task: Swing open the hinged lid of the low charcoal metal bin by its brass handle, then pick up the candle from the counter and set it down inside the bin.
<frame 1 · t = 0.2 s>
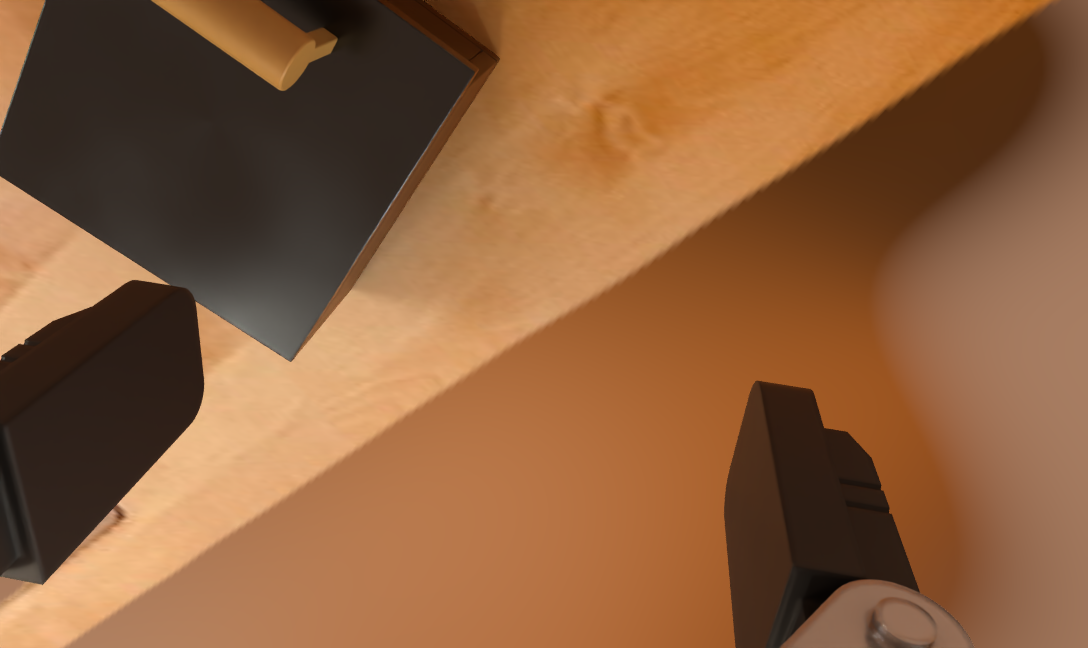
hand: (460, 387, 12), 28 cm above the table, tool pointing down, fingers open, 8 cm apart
bread bin: (289, 93, 39), on the table
bin lid: (188, 136, 30), point 10 cm above the table, hinge at 0.0°
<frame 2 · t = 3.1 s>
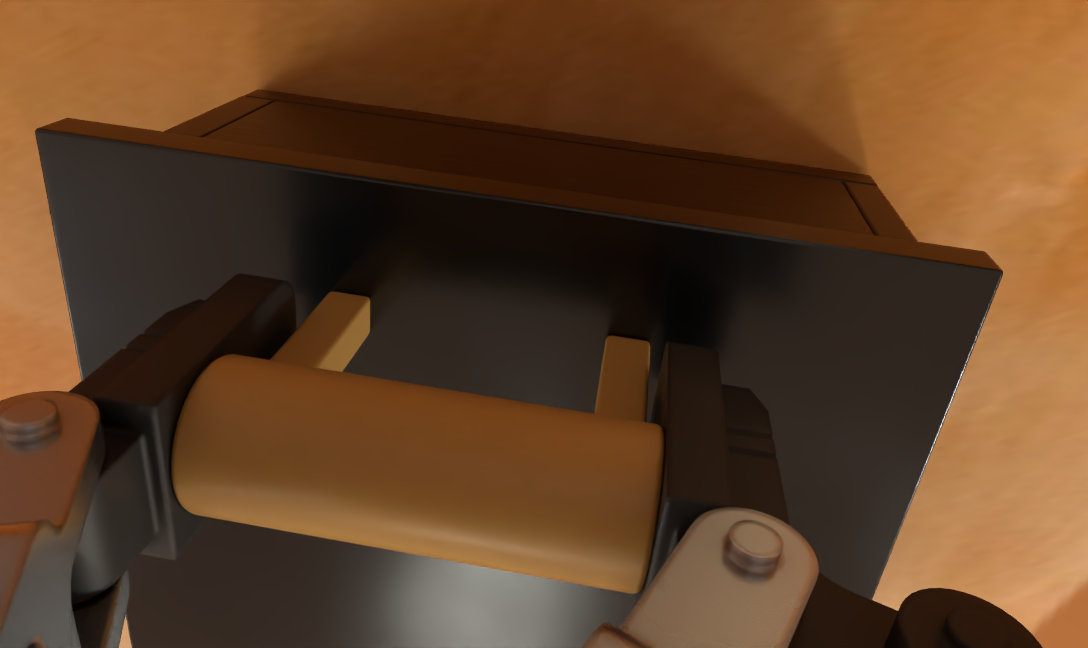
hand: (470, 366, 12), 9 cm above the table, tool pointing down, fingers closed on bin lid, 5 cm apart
bread bin: (526, 391, 23), on the table
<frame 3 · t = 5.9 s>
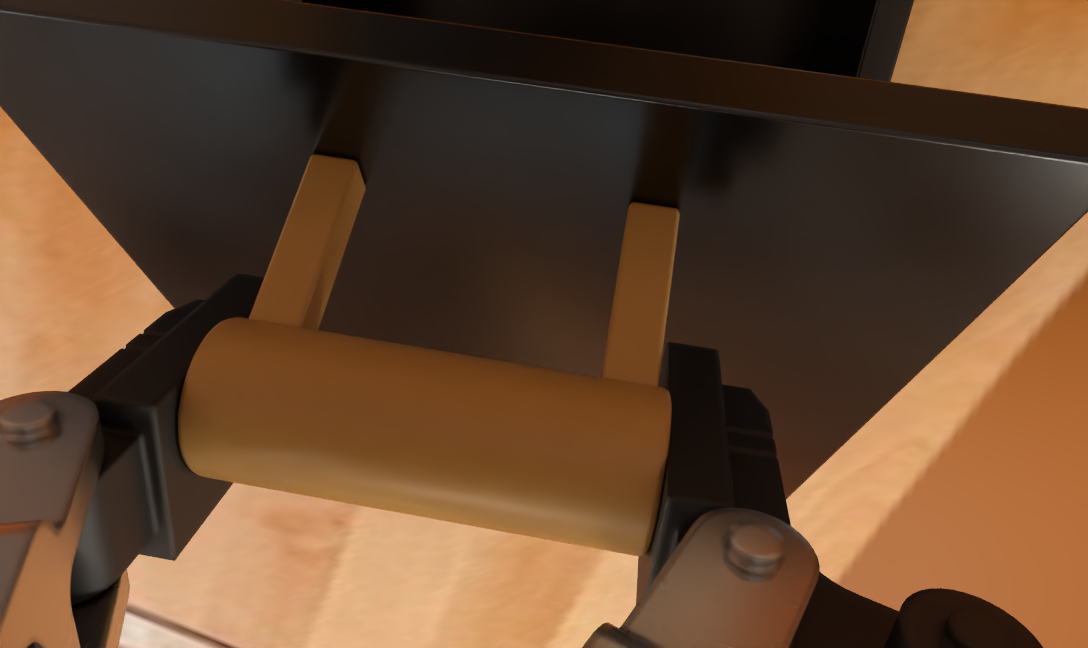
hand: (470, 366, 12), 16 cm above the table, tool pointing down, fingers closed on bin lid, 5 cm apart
bread bin: (578, 144, 27), on the table
bin lid: (488, 442, 16), point 14 cm above the table, hinge at 37.9°, touching gripper
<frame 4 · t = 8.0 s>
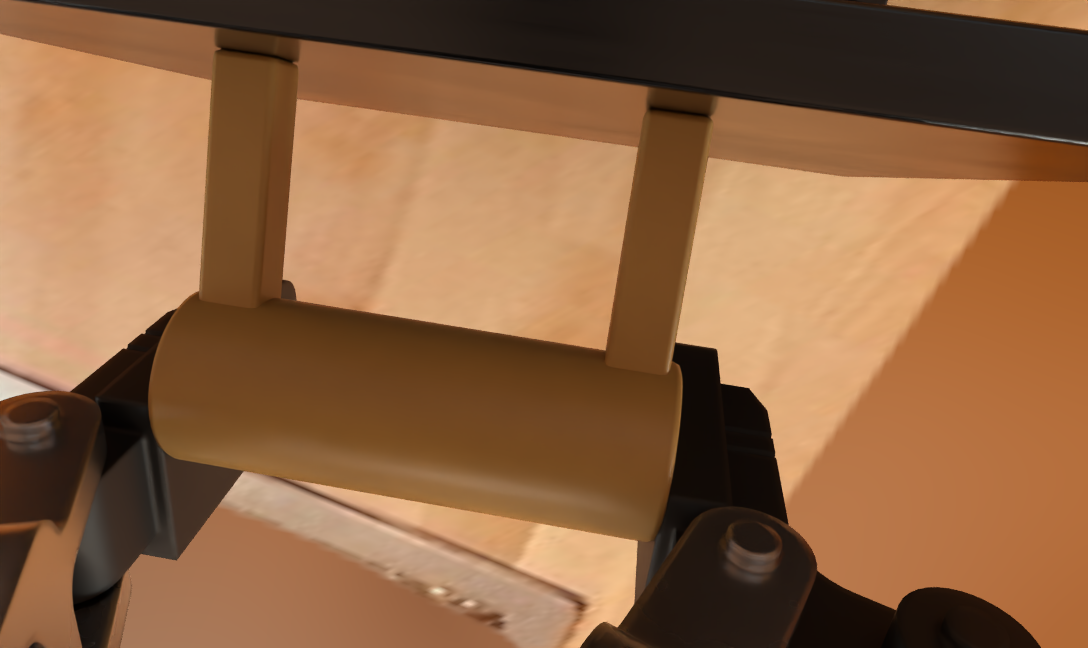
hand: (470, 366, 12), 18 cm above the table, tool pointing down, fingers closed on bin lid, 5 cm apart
bin lid: (512, 229, 14), point 15 cm above the table, hinge at 74.3°, touching gripper
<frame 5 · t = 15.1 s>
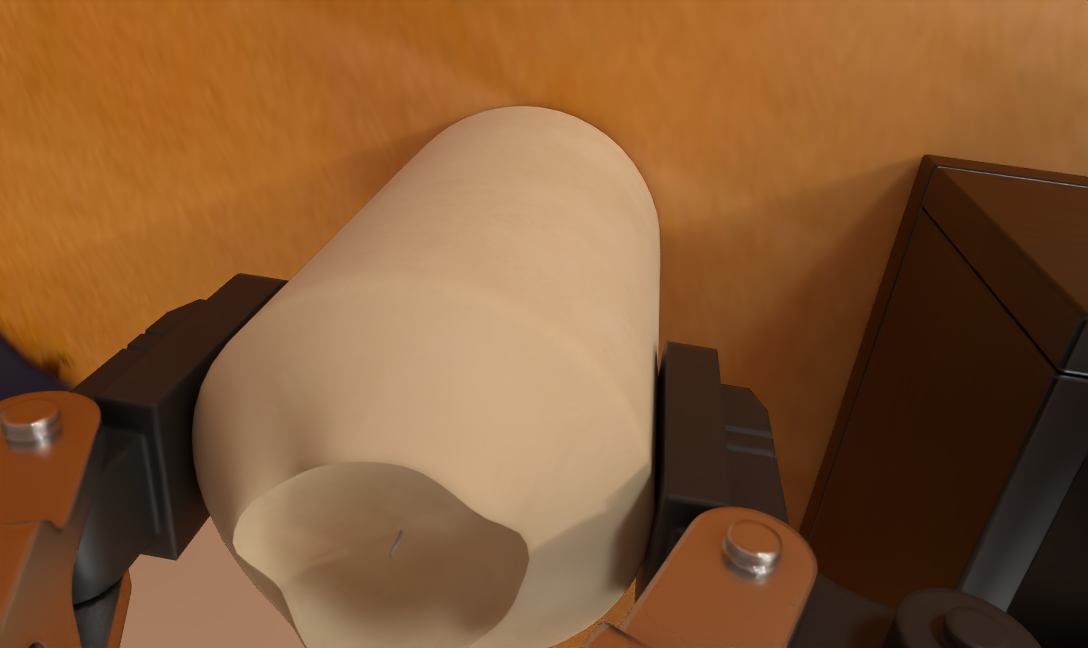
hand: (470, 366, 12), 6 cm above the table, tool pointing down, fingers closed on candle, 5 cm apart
candle: (528, 232, 17), on the table, touching gripper
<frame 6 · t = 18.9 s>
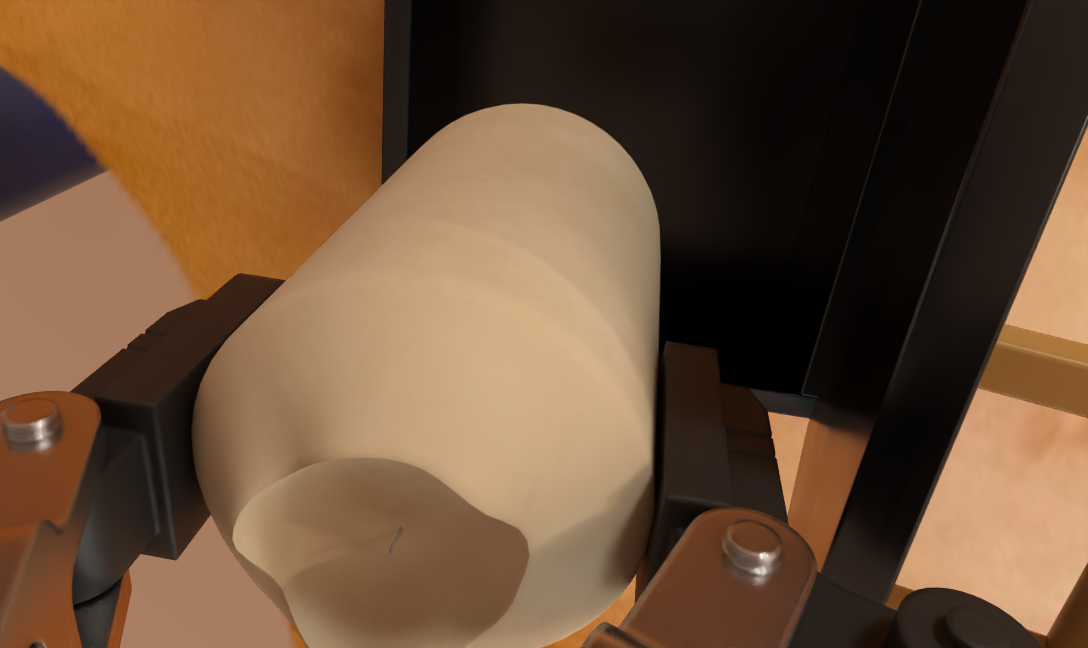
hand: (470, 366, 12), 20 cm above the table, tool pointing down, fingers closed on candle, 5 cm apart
bread bin: (637, 115, 30), on the table
bin lid: (1006, 355, 15), point 15 cm above the table, hinge at 75.4°, touching gripper
candle: (528, 230, 17), point 14 cm above the table, touching gripper
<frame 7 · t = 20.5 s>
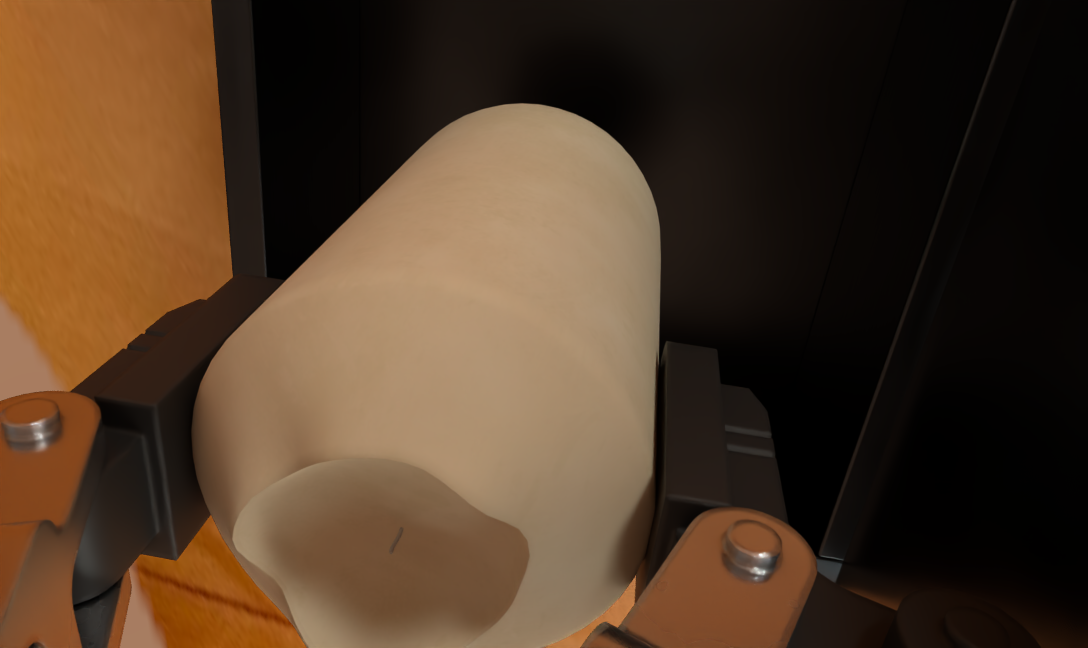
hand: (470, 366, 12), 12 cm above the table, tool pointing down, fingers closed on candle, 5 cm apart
bread bin: (600, 163, 22), on the table
candle: (529, 229, 17), point 6 cm above the table, touching gripper
when the fingers open (6 cm above the table, at t = 22.3 s): candle stays where it is, resting on bread bin.
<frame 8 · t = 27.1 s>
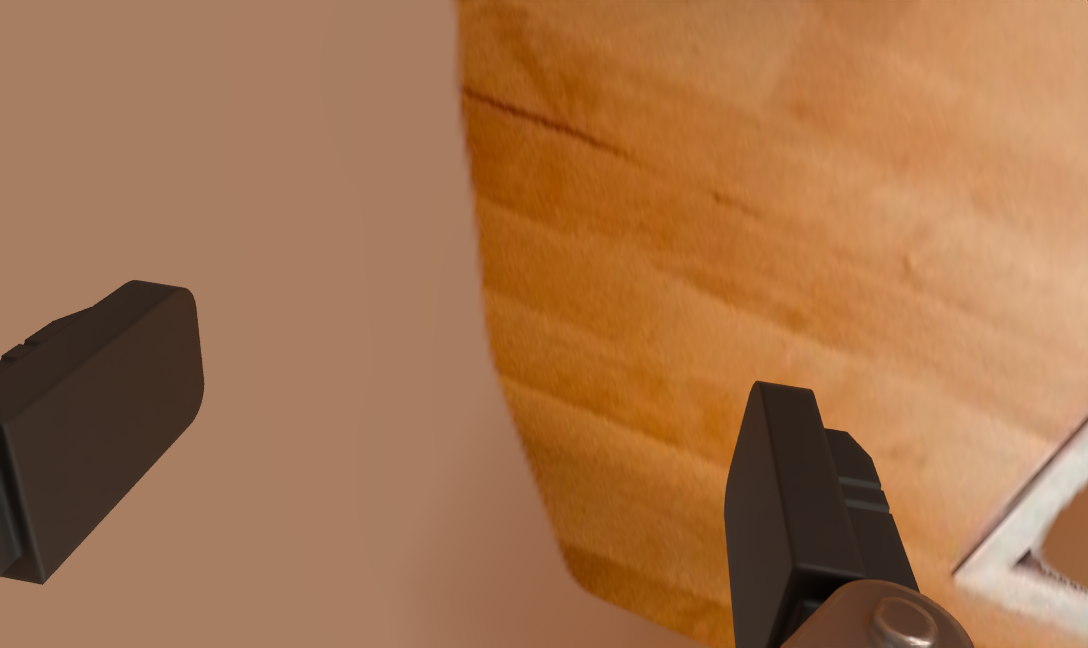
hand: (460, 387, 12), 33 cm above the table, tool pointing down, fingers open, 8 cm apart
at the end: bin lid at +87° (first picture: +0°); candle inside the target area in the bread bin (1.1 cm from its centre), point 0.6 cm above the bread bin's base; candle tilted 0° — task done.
